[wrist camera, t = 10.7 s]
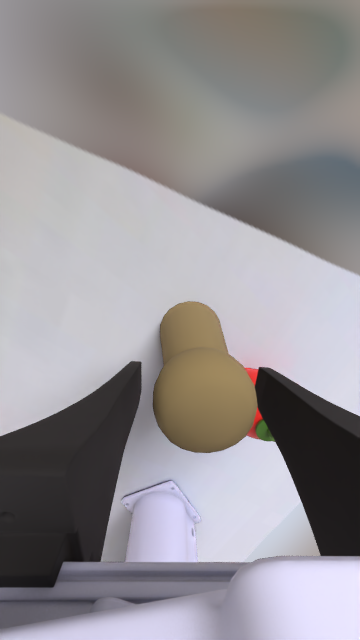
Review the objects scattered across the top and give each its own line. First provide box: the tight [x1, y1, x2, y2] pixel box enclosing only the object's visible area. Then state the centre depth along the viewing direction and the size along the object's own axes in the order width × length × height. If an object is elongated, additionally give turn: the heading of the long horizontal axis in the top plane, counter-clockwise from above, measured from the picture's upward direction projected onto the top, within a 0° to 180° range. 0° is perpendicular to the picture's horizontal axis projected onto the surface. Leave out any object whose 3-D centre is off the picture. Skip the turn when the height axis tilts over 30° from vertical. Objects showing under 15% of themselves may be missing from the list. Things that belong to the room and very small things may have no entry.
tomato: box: [245, 368, 275, 442], centre depth 17 cm, size 6×6×7 cm
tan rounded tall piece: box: [153, 302, 258, 453], centre depth 13 cm, size 6×6×11 cm
